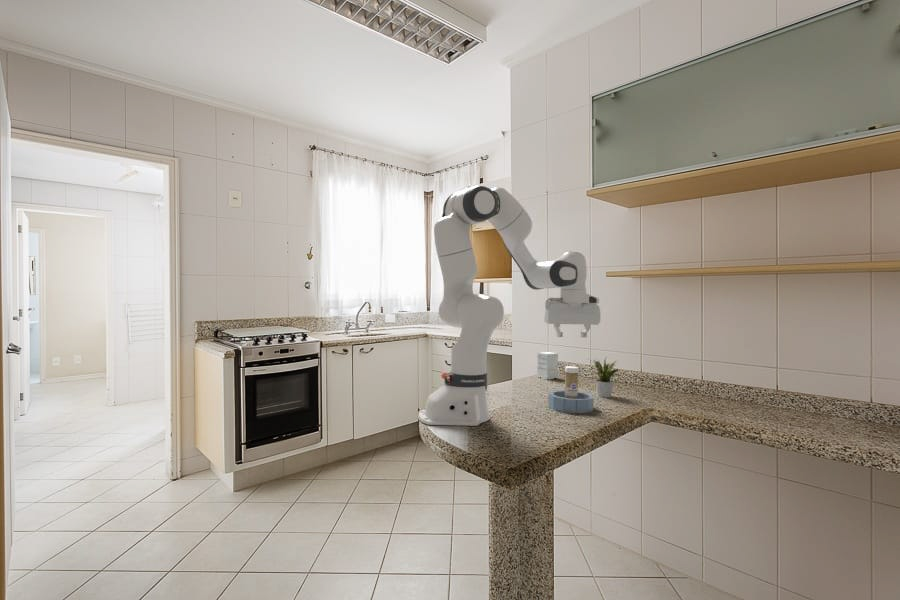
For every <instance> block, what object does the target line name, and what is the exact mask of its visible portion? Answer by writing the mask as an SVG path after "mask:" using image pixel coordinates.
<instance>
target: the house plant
mask: <svg viewBox="0 0 900 600" xmlns="http://www.w3.org/2000/svg"><path fill="white" fill-rule="evenodd" d="M607 357H608V356H607V355H606V356H605V358H604V361H603V366H602V363H600V362H601V361H600V360H599V359H598V358H596V359H597V360H595V359H594V360H593V365H594V366H595V367H596V369H597V372H596V371H595V370H590V371H589V373H591V374H593V375H597V376H598V379H595V380H594V382H595V387H596V389H595V390H596V396H597V397H599V398H604V397H606V398H605V399H608V398H607V397H610V398H611V397H612V393H613V388H614V383H615V381H614V380H611V378H612V377H614V378H616V376H618V378H620V375H619V374H617V372H619V369H616V368H615V369H613V368H614V367H615V366H616V363H617V362H618V361H619V360H615V361H613V362H612V363H609V362H607V363H606V359H607ZM587 360H589V361H591V362H592V360H590V359H588V358H587ZM612 360H613V358H611V359H610V361H612ZM612 369H613V370H612Z"/></svg>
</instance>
